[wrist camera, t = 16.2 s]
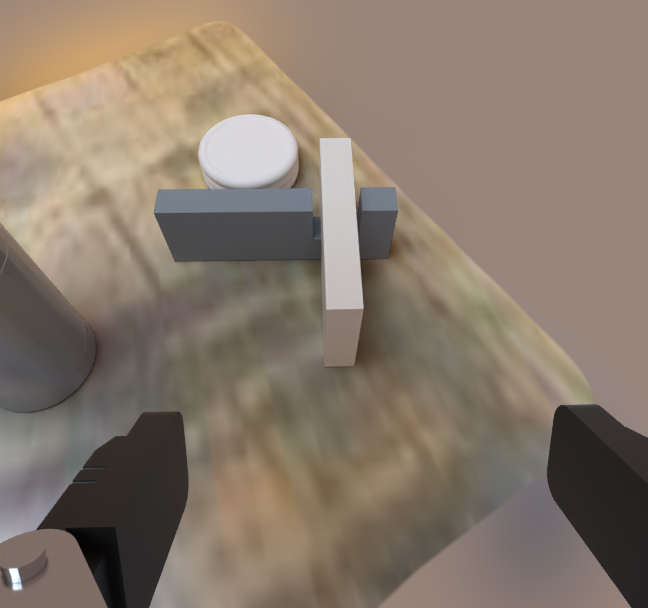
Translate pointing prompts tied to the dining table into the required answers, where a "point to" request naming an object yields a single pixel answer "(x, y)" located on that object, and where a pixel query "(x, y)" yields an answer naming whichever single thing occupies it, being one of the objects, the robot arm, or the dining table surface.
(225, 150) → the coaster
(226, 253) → the grey slotted plate
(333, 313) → the white slotted plate
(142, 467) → the robot arm
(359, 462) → the dining table surface
